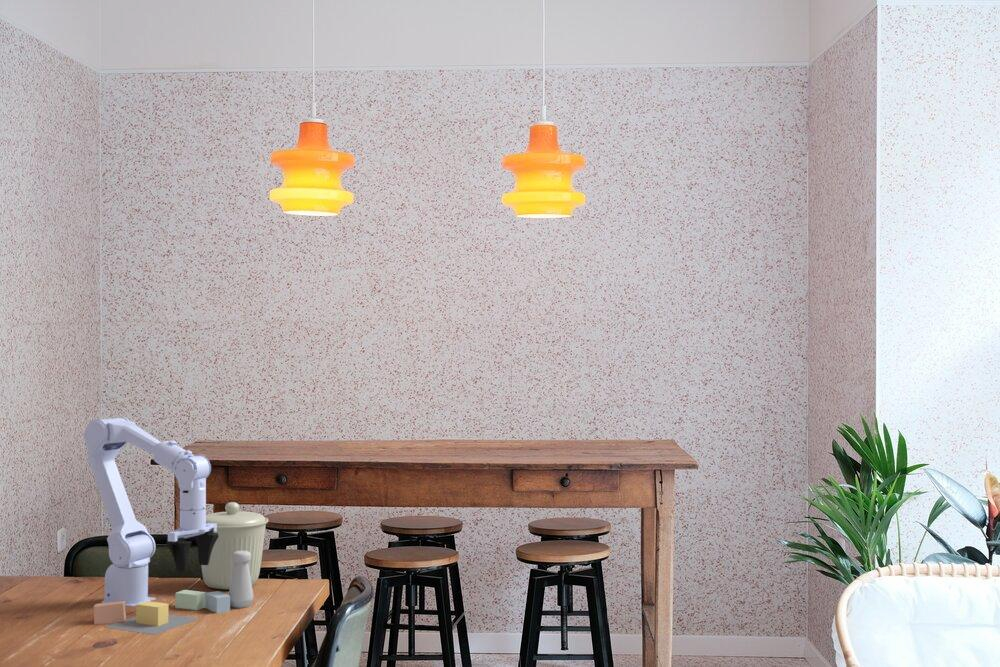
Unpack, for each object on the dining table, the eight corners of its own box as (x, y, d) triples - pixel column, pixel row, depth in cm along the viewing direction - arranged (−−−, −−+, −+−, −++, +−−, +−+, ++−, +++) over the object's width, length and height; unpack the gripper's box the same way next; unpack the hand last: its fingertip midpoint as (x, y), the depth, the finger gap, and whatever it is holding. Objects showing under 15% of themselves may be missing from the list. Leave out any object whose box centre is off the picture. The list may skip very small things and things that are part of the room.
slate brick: (205, 610, 228) (205, 593, 228) (218, 608, 230) (218, 591, 231) (216, 615, 224) (217, 598, 224) (229, 613, 226) (230, 595, 226)
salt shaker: (246, 611, 227) (247, 554, 228) (223, 610, 228) (224, 553, 229) (257, 605, 233) (258, 549, 233) (234, 603, 234) (235, 548, 234)
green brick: (175, 610, 228) (175, 592, 228) (184, 607, 231) (184, 589, 231) (196, 613, 226) (197, 595, 226) (205, 609, 229) (205, 592, 229)
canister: (229, 597, 240) (230, 510, 241) (178, 587, 250) (179, 503, 250) (282, 583, 255) (283, 501, 256) (232, 574, 265) (234, 495, 265)
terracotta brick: (94, 625, 214) (93, 606, 214) (96, 622, 217) (95, 603, 217) (124, 621, 215) (123, 603, 216) (126, 618, 218) (124, 600, 219)
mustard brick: (136, 622, 215) (136, 604, 215) (146, 619, 218) (147, 600, 218) (157, 626, 213) (158, 607, 213) (168, 622, 216) (168, 603, 216)
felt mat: (103, 629, 212) (103, 626, 212) (149, 613, 225) (149, 611, 225) (154, 637, 206) (154, 634, 206) (199, 620, 219) (199, 618, 219)
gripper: (185, 514, 221) (185, 575, 221) (227, 505, 234) (227, 563, 234) (160, 512, 224) (160, 573, 223) (203, 503, 237) (203, 561, 237)
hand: (192, 568), depth 229 cm, fingers open, 7 cm apart
